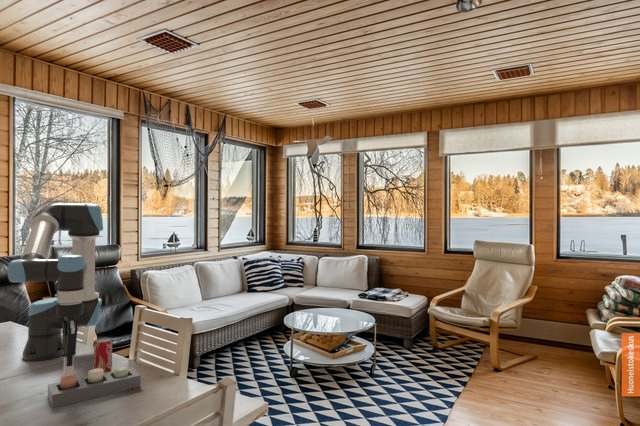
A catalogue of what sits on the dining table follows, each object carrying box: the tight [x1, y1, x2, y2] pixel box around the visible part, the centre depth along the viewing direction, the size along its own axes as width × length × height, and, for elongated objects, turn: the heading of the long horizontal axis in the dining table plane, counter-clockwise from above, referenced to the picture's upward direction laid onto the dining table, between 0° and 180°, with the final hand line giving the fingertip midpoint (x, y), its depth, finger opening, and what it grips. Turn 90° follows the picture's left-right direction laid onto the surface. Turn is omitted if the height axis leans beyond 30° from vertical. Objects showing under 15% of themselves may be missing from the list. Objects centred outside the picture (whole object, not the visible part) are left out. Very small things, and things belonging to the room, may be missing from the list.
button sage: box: [113, 366, 129, 379], centre depth 144 cm, size 5×5×3 cm
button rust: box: [59, 373, 78, 389], centre depth 134 cm, size 5×5×3 cm
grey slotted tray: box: [47, 366, 141, 409], centre depth 139 cm, size 10×26×4 cm, turn 130°
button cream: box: [87, 368, 104, 383], centre depth 139 cm, size 5×5×3 cm
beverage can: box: [92, 337, 113, 373], centre depth 157 cm, size 6×6×12 cm
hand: (68, 375), depth 134 cm, fingers closed
